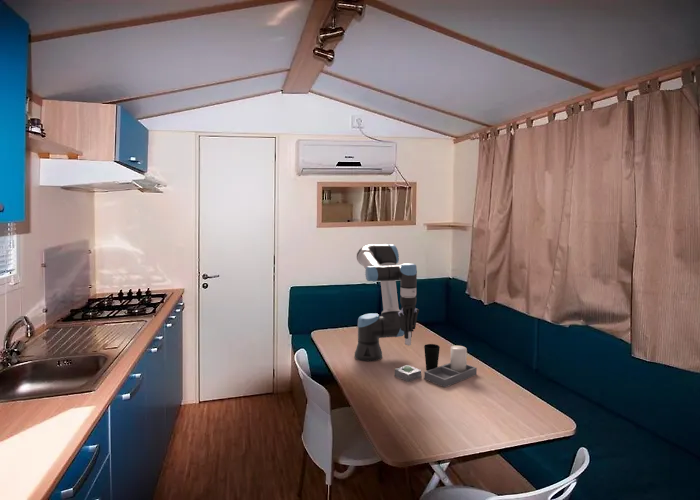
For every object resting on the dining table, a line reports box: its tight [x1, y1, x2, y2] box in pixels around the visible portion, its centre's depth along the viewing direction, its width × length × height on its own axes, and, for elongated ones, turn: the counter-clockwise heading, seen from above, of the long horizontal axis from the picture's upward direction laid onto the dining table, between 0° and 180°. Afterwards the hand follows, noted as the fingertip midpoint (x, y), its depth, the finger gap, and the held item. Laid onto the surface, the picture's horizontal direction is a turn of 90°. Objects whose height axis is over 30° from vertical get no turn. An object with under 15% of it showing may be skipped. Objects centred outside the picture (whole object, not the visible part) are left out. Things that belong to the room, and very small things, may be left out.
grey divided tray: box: [423, 362, 478, 388], centre depth 200 cm, size 12×24×4 cm, turn 128°
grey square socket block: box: [394, 364, 422, 383], centre depth 200 cm, size 9×9×4 cm
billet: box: [449, 345, 468, 373], centre depth 203 cm, size 8×8×12 cm
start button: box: [404, 365, 413, 372], centre depth 200 cm, size 4×4×4 cm
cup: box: [423, 343, 440, 371], centre depth 209 cm, size 8×8×12 cm
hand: (407, 344), depth 199 cm, fingers closed
